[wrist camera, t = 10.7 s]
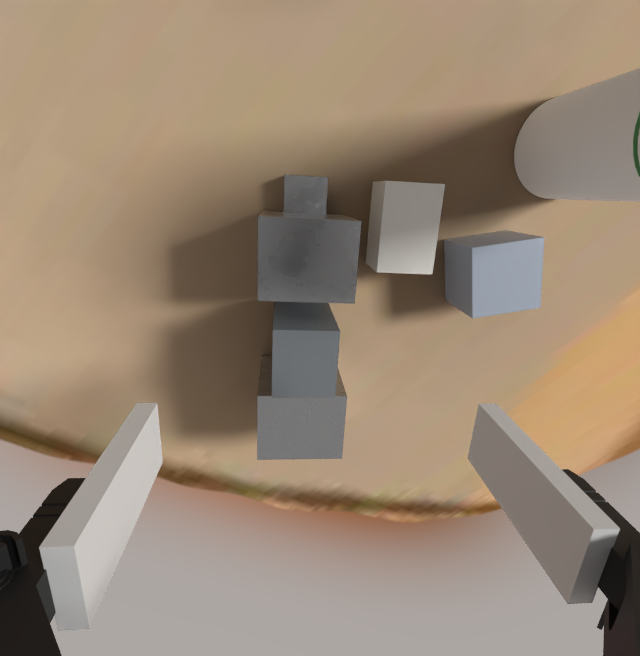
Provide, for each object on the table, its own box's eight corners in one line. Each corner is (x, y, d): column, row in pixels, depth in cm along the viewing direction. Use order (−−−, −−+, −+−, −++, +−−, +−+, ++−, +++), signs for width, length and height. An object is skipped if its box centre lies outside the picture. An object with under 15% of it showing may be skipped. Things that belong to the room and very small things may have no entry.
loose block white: (372, 181, 30) (385, 180, 26) (424, 185, 30) (445, 184, 26) (365, 262, 32) (376, 272, 28) (414, 264, 32) (432, 274, 28)
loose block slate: (443, 239, 32) (472, 248, 27) (505, 230, 32) (544, 237, 27) (445, 300, 33) (472, 318, 28) (503, 291, 33) (540, 307, 29)
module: (274, 299, 30) (272, 329, 24) (327, 301, 31) (340, 331, 24) (273, 356, 32) (271, 400, 25) (323, 357, 32) (335, 400, 25)
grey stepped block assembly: (263, 174, 29) (258, 169, 22) (346, 179, 29) (365, 175, 23) (261, 418, 35) (257, 471, 28) (329, 418, 36) (340, 470, 29)
